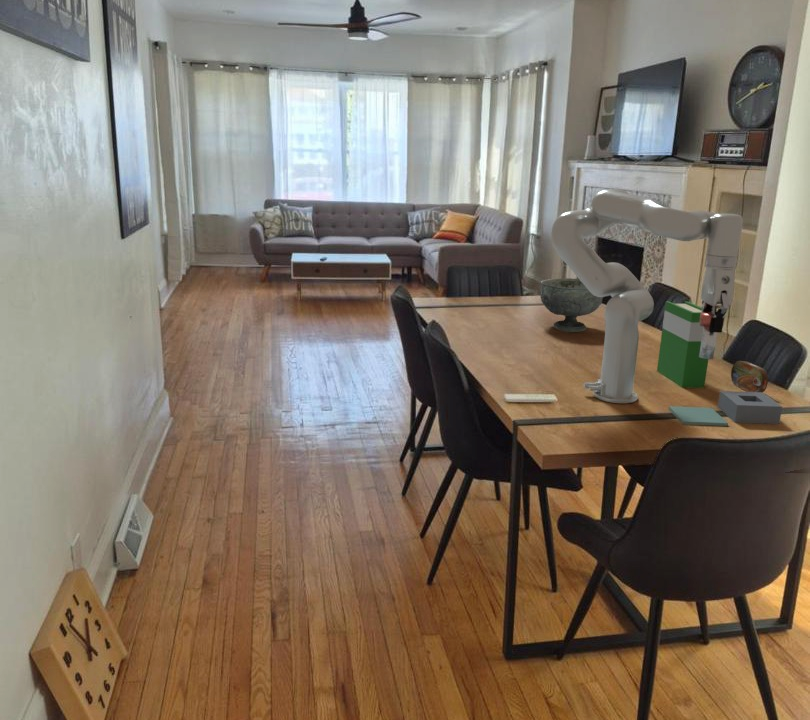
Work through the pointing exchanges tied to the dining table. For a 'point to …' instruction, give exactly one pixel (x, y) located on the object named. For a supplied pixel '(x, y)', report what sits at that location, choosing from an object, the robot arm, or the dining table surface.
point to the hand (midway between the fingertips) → (710, 328)
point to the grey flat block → (749, 407)
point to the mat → (698, 416)
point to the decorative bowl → (568, 302)
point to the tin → (749, 377)
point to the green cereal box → (682, 345)
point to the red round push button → (707, 336)
